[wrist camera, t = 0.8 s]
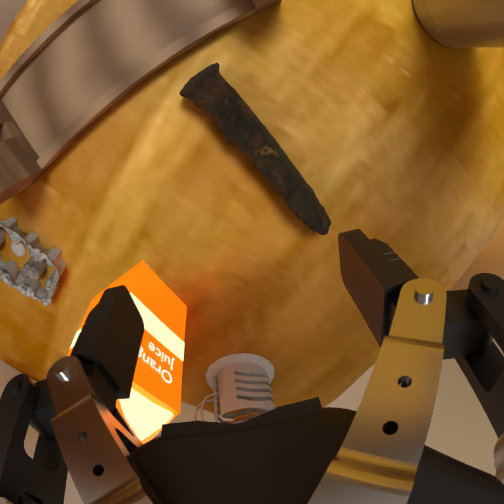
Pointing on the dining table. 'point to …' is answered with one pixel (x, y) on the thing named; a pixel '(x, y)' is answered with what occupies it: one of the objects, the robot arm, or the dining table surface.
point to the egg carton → (30, 264)
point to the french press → (239, 386)
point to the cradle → (94, 72)
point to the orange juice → (152, 352)
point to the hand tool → (255, 144)
